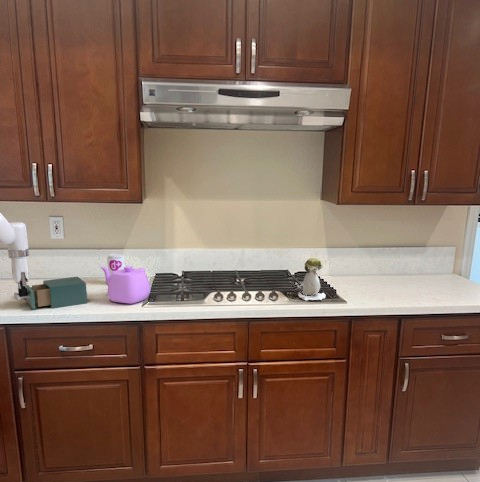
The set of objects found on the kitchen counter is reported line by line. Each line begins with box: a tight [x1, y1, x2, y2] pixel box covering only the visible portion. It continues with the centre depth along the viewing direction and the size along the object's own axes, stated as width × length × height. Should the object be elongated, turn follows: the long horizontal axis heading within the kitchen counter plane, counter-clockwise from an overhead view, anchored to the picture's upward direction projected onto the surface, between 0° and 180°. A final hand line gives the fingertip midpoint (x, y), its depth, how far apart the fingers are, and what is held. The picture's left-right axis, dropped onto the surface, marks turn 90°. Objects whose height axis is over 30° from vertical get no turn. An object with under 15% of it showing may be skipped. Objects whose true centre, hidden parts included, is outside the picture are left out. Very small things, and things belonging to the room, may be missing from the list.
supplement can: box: [106, 253, 126, 275], centre depth 228 cm, size 8×8×15 cm
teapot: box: [99, 265, 151, 305], centre depth 206 cm, size 23×21×15 cm
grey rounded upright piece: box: [297, 257, 327, 302], centre depth 211 cm, size 12×13×18 cm
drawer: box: [13, 283, 51, 310], centre depth 194 cm, size 18×11×7 cm, turn 124°
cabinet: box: [42, 276, 88, 309], centre depth 200 cm, size 15×13×9 cm
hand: (23, 297), depth 191 cm, fingers closed
